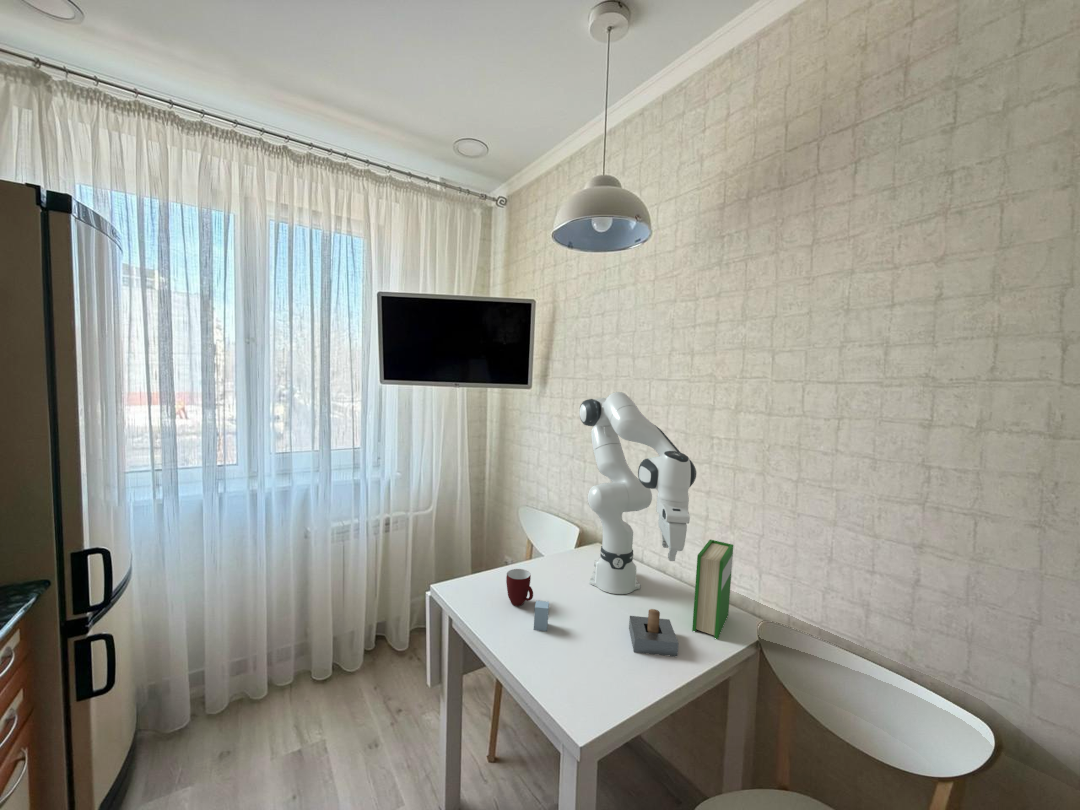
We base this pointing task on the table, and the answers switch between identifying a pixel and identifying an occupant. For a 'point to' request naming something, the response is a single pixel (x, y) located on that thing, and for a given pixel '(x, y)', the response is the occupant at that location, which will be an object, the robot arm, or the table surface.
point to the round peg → (653, 621)
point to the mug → (519, 586)
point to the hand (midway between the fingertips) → (668, 553)
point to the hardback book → (712, 587)
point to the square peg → (541, 615)
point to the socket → (653, 637)
